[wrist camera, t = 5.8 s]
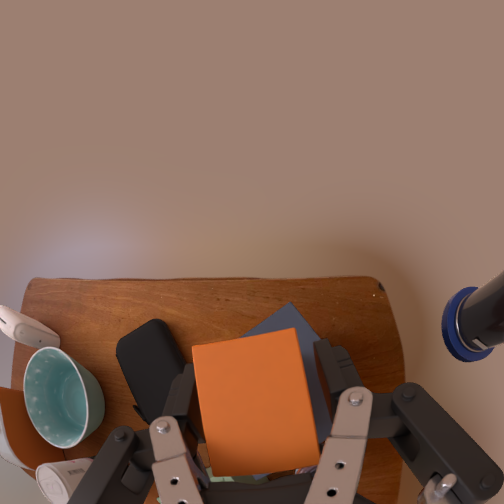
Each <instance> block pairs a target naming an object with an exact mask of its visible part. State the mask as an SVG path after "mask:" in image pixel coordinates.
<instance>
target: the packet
mask: <svg viewBox="0 0 504 504" xmlns="http://www.w3.org/2000/svg"><path fill="white" fill-rule="evenodd" d="M192 354H193V362H194V370H195V378H196V385H197V392H198V398H199V405H200V411H201V417H202V423H203V429H204V434H205V440H206V445H207V450H208V455H209V460H210V465H211V469H212V474H213V476H214V477H231V476H246V475H257V474H266V473H274V472H281V471H288V470H294V469H300V468H305V467H310V466H315V465H318V463H319V460H320V457H321V453H320V447H319V442H318V436H317V431H316V425H315V420H314V415H313V410H312V405H311V399H310V394H309V389H308V384H307V379H306V374H305V370H304V365H303V360H302V355H301V350H300V346H299V341H298V336H297V332H296V329H295V328H289V329H284V330H280V331H275V332H270V333H265V334H260V335H255V336H249V337H244V338H238V339H233V340H227V341H221V342H215V343H208V344H202V345H195V346H192Z"/></svg>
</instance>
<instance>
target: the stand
mask: <svg viewBox="0 0 504 504" xmlns="http://www.w3.org/2000/svg"><path fill="white" fill-rule="evenodd" d="M289 328H295V329H296V332H297V336H298V341H299V346H300V350H301V355H302V360H303V365H304V370H305V374H306V379H307V384H308V389H309V394H310V399H311V405H312V410H313V415H314V420H315V425H316V431H317V436H318V442H319V444H320V443H322V442H323V441H325V440H326V438H327V436H329V435H330V433H331V429H332V422H331V419H330V415H329V412H328V408H327V405H326V401H325V398H324V394H323V391H322V387H321V384H320V381H319V377H318V374H317V369H316V363H315V356H314V348H313V342H314V341H318V340H321V339H320V338H319V336H318V335H317V334H316V333H315V331H314V330H313V329H312V328H311V326H310V325H309V324H308V323H307V321H306V320H305V319H304V318H303V316H302V315H301V314H300V313H299V311H298V310H297V309H296V308H295V306H294V305H293V304H292V303H291V302H289V303H288V304H286V305H285V306H283V307H282V308H281V309H279V310H278V311H277V312H275V313H274V314H272V315H271V316H270V317H268V318H267V319H265V320H264V321H263V322H261V323H260V324H258V325H257V326H256V327H254V328H253V329H251V330H250V331H248V332H247V333H246V334H244V335H243V336H241V337H240V338H244V337H249V336H255V335H260V334H265V333H270V332H275V331H280V330H284V329H289ZM269 474H271V473H266V474H257V475H252V476H253V477H254V479H255V480H256V481H257V480H259V479H261V478H263V477H265V476H267V475H269Z"/></svg>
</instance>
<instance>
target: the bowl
mask: <svg viewBox="0 0 504 504" xmlns="http://www.w3.org/2000/svg"><path fill="white" fill-rule="evenodd" d="M24 398H25V404H26V408H27V411H28V414H29V417H30V419H31V421H32V423H33V425H34V427H35V428H36V430H37V431H38V432H39V434H40V435H41V436H42V437H43V438H44V439H45V440H46V441H47V442H49V443H50V444H52V445H54V446H56V447H59V448H71V447H74V446H75V445H77V444H78V443H80V442H81V441H83V440H84V439H85V438H86V437H88V436H89V435H90V434H91V433H92V432H93V431H95V430H96V429H97V428H98V427H99V426H100V424H101V422H102V420H103V417H104V413H105V401H104V396H103V392H102V389H101V387H100V385H99V383H98V381H97V380H96V378H95V377H94V376H93V375H92V374H91V373H90V372H89V371H88V370H87V369H85V368H84V367H83V366H82V365H80V364H79V363H78V362H77V361H75V360H74V359H73V358H71V357H70V356H69V355H67V354H66V353H65V352H63V351H62V350H60V349H58V348H55V347H44V348H42V349H40V350H38V351H37V352H36V353H35V354H34V355H33V356H32V357H31V359H30V361H29V363H28V365H27V368H26V371H25V376H24Z"/></svg>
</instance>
